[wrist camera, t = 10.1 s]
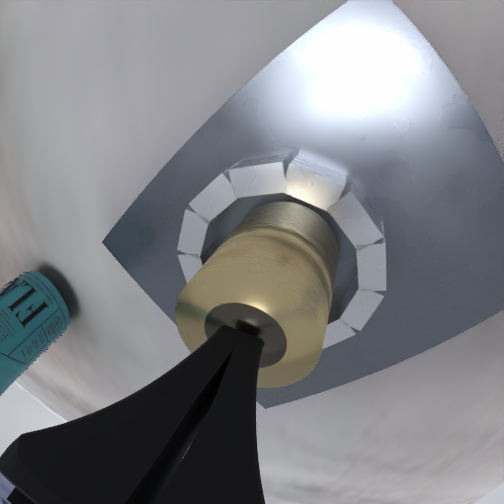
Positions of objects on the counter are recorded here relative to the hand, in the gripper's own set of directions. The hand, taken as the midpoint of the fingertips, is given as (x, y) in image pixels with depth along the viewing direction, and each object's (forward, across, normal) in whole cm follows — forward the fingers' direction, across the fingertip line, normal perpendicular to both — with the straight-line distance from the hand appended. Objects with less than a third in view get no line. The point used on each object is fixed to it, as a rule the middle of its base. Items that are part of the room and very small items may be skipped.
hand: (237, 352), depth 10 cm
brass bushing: (+6, 0, 0) cm, 7 cm away
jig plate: (+8, -1, 0) cm, 8 cm away
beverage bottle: (+8, +18, +12) cm, 23 cm away
